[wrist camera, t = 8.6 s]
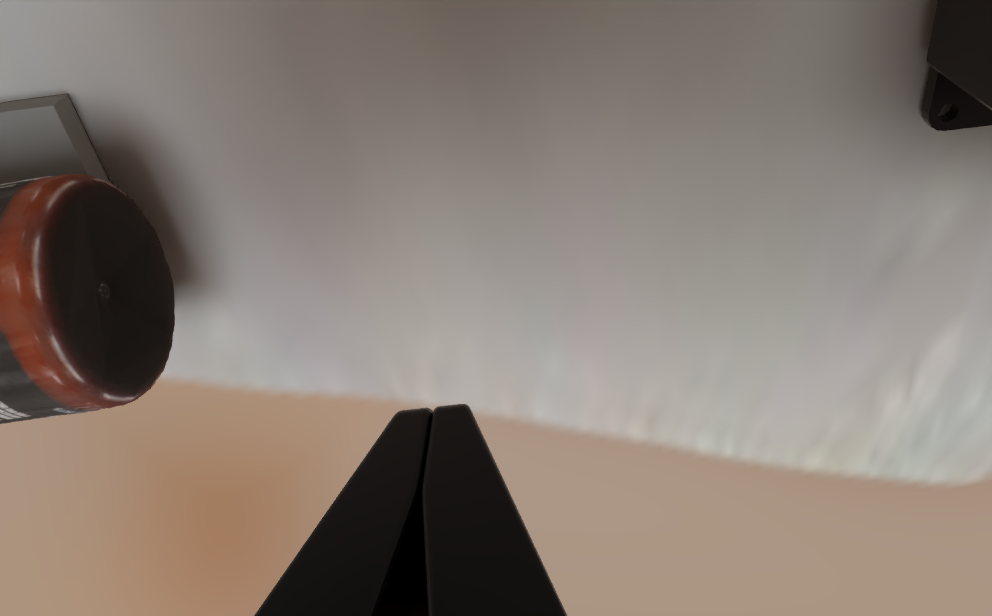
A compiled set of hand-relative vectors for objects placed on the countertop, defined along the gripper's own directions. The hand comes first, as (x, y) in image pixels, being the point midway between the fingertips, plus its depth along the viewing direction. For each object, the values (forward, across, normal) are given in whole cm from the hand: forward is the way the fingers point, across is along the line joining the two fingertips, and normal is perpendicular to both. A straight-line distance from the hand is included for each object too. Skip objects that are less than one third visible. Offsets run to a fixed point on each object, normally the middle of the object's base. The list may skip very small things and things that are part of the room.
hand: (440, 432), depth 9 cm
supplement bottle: (+9, +9, +3) cm, 13 cm away
